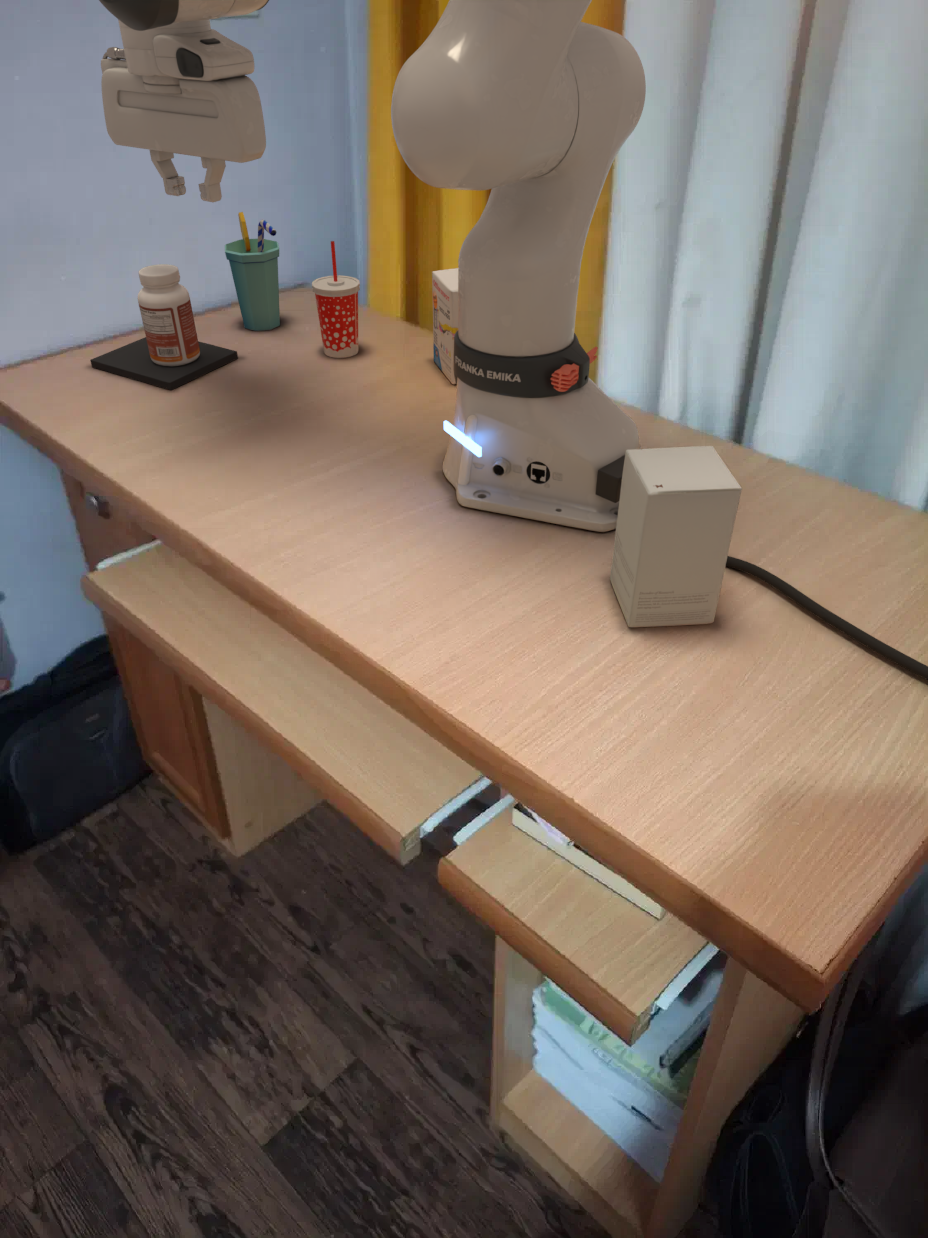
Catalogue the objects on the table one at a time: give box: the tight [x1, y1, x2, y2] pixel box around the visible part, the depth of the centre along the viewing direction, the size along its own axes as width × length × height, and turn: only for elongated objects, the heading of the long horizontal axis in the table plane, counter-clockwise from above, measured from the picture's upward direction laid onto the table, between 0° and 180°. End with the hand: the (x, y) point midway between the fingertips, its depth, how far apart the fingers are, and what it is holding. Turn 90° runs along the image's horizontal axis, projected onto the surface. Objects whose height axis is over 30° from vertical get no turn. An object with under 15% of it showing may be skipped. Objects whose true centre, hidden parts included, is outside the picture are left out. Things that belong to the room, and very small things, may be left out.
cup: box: [224, 211, 281, 332], centre depth 124 cm, size 14×8×15 cm, turn 35°
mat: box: [89, 336, 239, 391], centre depth 118 cm, size 14×12×1 cm
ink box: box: [431, 267, 458, 385], centre depth 113 cm, size 9×8×12 cm
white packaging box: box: [609, 445, 743, 628], centre depth 73 cm, size 7×7×13 cm
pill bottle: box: [137, 263, 200, 366], centre depth 113 cm, size 6×6×11 cm
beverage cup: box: [311, 240, 361, 359], centre depth 117 cm, size 6×6×14 cm
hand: (193, 197), depth 101 cm, fingers open, 4 cm apart
